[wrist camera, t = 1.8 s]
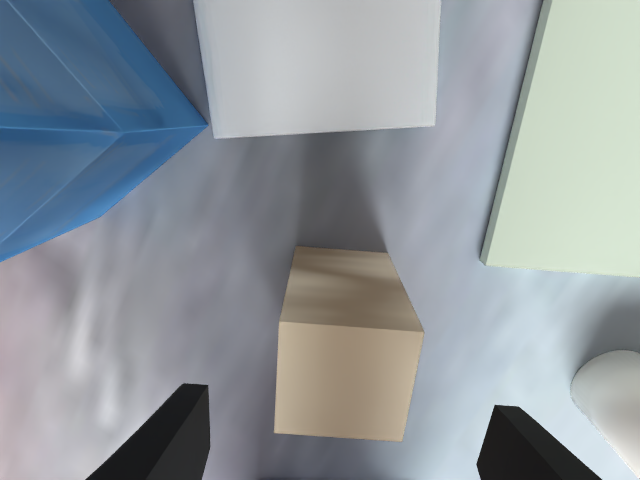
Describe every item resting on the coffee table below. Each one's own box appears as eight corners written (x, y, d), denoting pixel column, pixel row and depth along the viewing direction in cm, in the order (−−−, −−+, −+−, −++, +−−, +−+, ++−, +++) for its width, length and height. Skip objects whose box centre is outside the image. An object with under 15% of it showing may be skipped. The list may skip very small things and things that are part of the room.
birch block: (291, 325, 17) (274, 433, 11) (295, 245, 15) (278, 321, 10) (376, 331, 17) (402, 442, 11) (387, 252, 15) (424, 332, 10)
